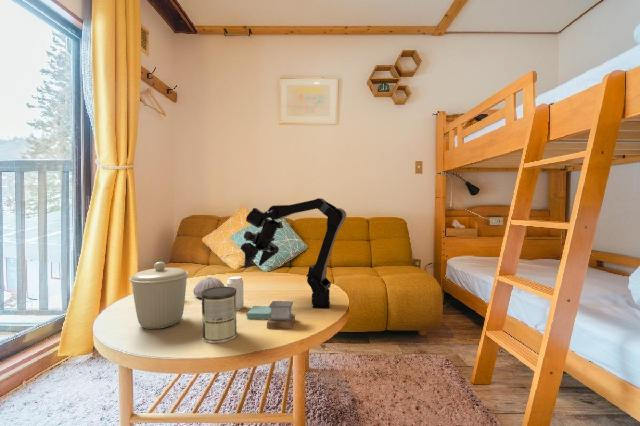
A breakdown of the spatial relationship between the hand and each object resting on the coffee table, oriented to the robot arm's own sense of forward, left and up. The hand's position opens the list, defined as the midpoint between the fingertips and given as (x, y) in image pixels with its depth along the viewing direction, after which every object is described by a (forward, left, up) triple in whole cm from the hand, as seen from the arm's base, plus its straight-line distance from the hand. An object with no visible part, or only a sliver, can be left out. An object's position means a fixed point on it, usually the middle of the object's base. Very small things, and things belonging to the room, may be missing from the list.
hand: (252, 266), depth 138 cm
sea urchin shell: (+21, -5, -14) cm, 26 cm away
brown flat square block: (-17, +26, -14) cm, 35 cm away
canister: (+24, +28, -14) cm, 40 cm away
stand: (-8, +18, -14) cm, 25 cm away
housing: (-17, +26, -12) cm, 34 cm away
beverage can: (+4, +11, -14) cm, 19 cm away
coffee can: (0, +37, -14) cm, 40 cm away
